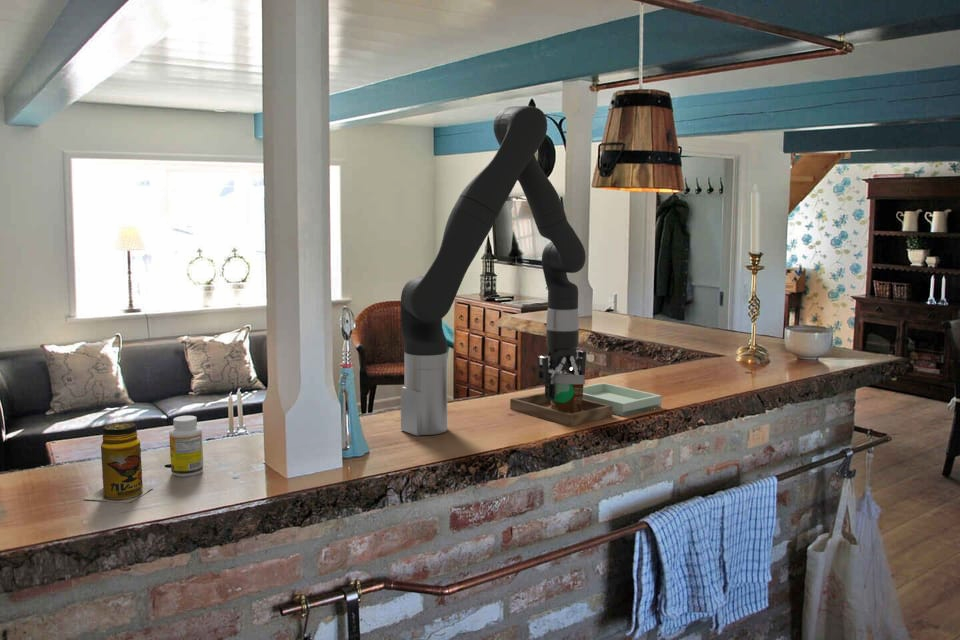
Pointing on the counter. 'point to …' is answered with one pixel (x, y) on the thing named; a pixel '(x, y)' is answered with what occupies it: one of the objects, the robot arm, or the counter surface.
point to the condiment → (120, 464)
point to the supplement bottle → (186, 447)
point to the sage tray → (622, 398)
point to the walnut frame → (533, 408)
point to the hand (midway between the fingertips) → (561, 396)
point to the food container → (568, 392)
